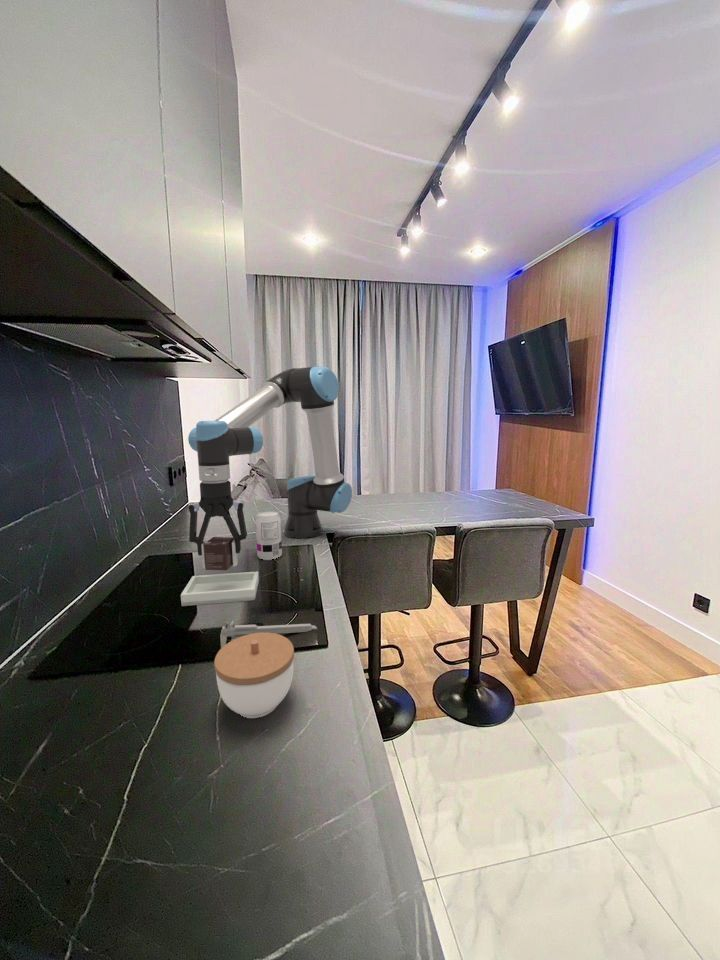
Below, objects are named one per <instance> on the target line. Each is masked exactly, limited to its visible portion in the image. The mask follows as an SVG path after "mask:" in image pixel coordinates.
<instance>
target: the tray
mask: <svg viewBox="0 0 720 960" xmlns="http://www.w3.org/2000/svg"><path fill="white" fill-rule="evenodd" d="M259 577H260V576H259V571H246V572H232V573H231V572H230V573H217V574H216V573H215V574H201V575H192V576H191V578H190V580H189V581H188V583H187V584H186V586H185V587H184V589H183V590H182V591H181V594H180V601H181V602H180V603H181V607H187V606H188V607H189V606H201V605H202V606H203V605H212V604H224V603H225V604H226V603H237V602H249V601H250V602H251V601H255V600H256V596H257V592H258V586H259V581H260V578H259Z"/></svg>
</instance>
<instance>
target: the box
mask: <svg viewBox="0 0 720 960" xmlns="http://www.w3.org/2000/svg"><path fill="white" fill-rule="evenodd" d="M233 540H234V538H233V536H231V537H229V536H228V537H227V536H226V537H224V536H213V537H212V538H210V539H209V540H207V542H205V543H204V544H203V547H204V559H205V568H204V569H205V570H206V571H228V570H229V569H230V568H231V567H233V554H232V542H233Z"/></svg>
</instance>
